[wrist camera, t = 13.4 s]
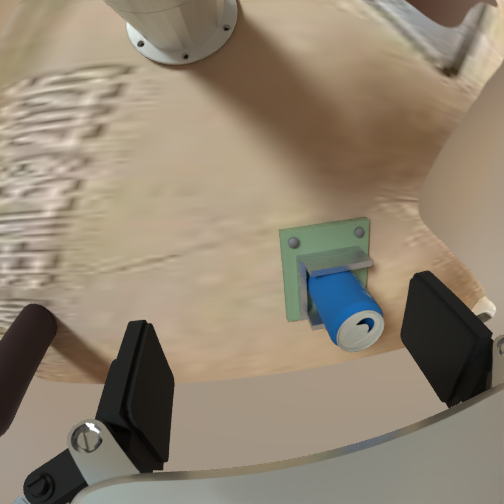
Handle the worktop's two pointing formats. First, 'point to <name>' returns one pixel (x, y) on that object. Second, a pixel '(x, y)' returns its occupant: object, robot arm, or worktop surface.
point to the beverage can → (346, 310)
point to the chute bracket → (321, 266)
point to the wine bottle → (22, 357)
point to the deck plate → (317, 241)
